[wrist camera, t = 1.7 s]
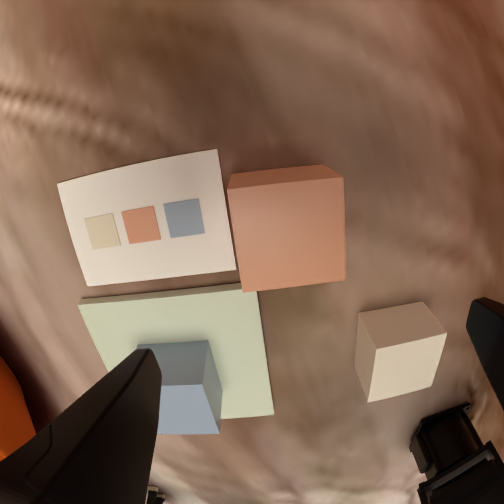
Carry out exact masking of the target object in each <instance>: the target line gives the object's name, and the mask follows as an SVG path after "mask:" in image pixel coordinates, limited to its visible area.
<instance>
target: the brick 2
mask: <svg viewBox="0 0 504 504" xmlns="http://www.w3.org/2000/svg"><path fill="white" fill-rule="evenodd" d="M446 336H447V332H446V330H445V329H444V328H443V327H442V325H441V324H440V323H439V321H438V320H437V319H436V318H435V316H434V315H433V314H432V312H431V311H430V310H429V309H428V307H427V306H426V305H425V304H424V302H423V301H421V302H416V303H411V304H405V305H400V306H395V307H389V308H384V309H378V310H372V311H366V312H360V313H358V326H357V339H356V350H355V361H354V367H355V370H356V373H357V375H358V378H359V381H360V383H361V386H362V389H363V392H364V394H365V397H366V400H367V403H368V402H373V401H377V400H382V399H386V398H390V397H394V396H398V395H402V394H406V393H410V392H413V391H417V390H421V389H424V388H427V387H431V385H432V382H433V379H434V376H435V373H436V370H437V367H438V364H439V360H440V357H441V354H442V350H443V347H444V343H445V339H446Z"/></svg>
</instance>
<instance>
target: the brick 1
mask: <svg viewBox="0 0 504 504" xmlns="http://www.w3.org/2000/svg"><path fill="white" fill-rule="evenodd" d="M227 194H228V200H229V207H230V214H231V221H232V227H233V234H234V240H235V247H236V253H237V260H238V266H239V273H240V279H241V286H242V292H243V293H244V292H253V291H262V290H271V289H279V288H287V287H296V286H304V285H311V284H319V283H327V282H334V281H341V280H345V264H346V254H345V203H344V180H343V177H342V176H341V175H339V174H338V173H336V172H335V171H333V170H332V169H330V168H328V167H327V166H325V165H324V164H321V165H309V166H298V167H288V168H278V169H269V170H260V171H252V172H244V173H236V174H231V177H230V180H229V184H228V187H227Z"/></svg>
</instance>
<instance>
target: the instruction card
mask: <svg viewBox="0 0 504 504" xmlns="http://www.w3.org/2000/svg"><path fill="white" fill-rule="evenodd" d="M57 186H58V190H59V194H60V198H61V202H62V206H63V210H64V214H65V217H66V221H67V224H68V228H69V231H70V235H71V238H72V241H73V244H74V248H75V251H76V254H77V257H78V260H79V263H80V266H81V269H82V272H83V275H84V277H85V280H86V283H87V286H97V285H106V284H116V283H125V282H134V281H143V280H152V279H161V278H170V277H179V276H187V275H196V274H205V273H213V272H221V271H230V270H236V262H235V256H234V250H233V244H232V238H231V232H230V226H229V219H228V213H227V207H226V201H225V194H224V188H223V182H222V175H221V169H220V162H219V156H218V149H212V150H206V151H200V152H194V153H188V154H182V155H177V156H172V157H166V158H161V159H156V160H151V161H147V162H142V163H137V164H133V165H128V166H124V167H119V168H115V169H111V170H107V171H103V172H99V173H95V174H91V175H87V176H83V177H79V178H76V179H72V180H68V181H65V182H61V183H58V184H57Z"/></svg>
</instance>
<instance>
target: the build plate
mask: <svg viewBox="0 0 504 504" xmlns="http://www.w3.org/2000/svg"><path fill="white" fill-rule="evenodd" d="M78 307H79V310H80V312H81V314H82V317H83V319H84V321H85V324H86V326H87V328H88V330H89V333H90V335H91V337H92V339H93V341H94V344H95V346H96V348H97V350H98V352H99V354H100V356H101V358H102V360H103V362H104V364H105V366H106V368H107V370H108V372H110V371H111V370H112V369H113V368H114V367H116V366H117V365H118V364H119V363H120V362H121V361H123V360H124V359H125V358H126V357H127V356H128V355H130V354H131V353H132V352H133V351H134V350H136V348H137V345H139V344H160V343H176V342H191V341H204V340H209V344H210V348H211V351H212V355H213V359H214V362H215V366H216V369H217V373H218V376H219V380H220V383H221V387H222V390H223V394H222V408H221V419H226V418H242V417H254V416H265V415H274V407H273V400H272V393H271V386H270V379H269V372H268V365H267V358H266V351H265V344H264V337H263V330H262V323H261V316H260V309H259V302H258V295H257V291H253V292H244V293H243V292H242V286H241V283H234V284H226V285H217V286H208V287H199V288H190V289H180V290H171V291H161V292H151V293H141V294H131V295H120V296H109V297H98V298H86V299H82V300H81V301H80V302H79V304H78Z"/></svg>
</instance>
